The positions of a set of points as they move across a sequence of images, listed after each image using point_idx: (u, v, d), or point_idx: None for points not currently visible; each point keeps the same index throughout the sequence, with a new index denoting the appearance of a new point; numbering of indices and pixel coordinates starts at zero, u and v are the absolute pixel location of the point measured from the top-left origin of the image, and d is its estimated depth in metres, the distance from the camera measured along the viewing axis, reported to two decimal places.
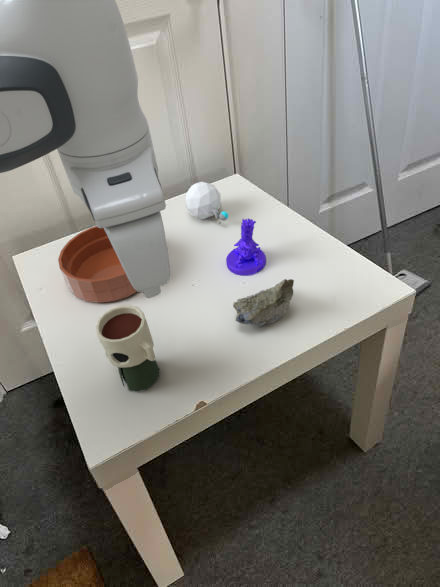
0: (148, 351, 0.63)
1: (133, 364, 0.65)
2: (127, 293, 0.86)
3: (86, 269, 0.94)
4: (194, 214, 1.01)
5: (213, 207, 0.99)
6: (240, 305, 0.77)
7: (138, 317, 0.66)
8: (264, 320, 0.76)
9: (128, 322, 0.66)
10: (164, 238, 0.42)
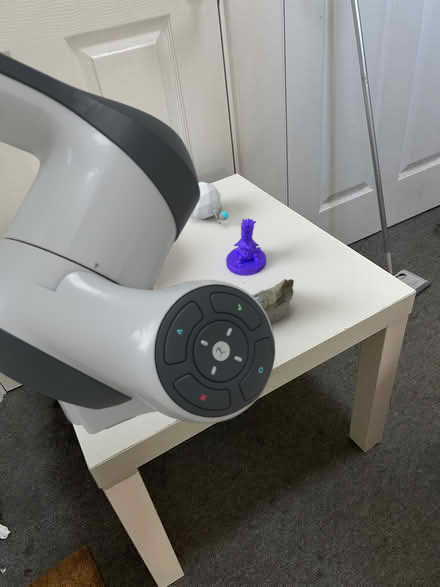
0: None
1: None
2: None
3: None
4: (194, 214, 1.01)
5: (213, 207, 0.99)
6: None
7: None
8: None
9: None
10: (74, 423, 0.39)
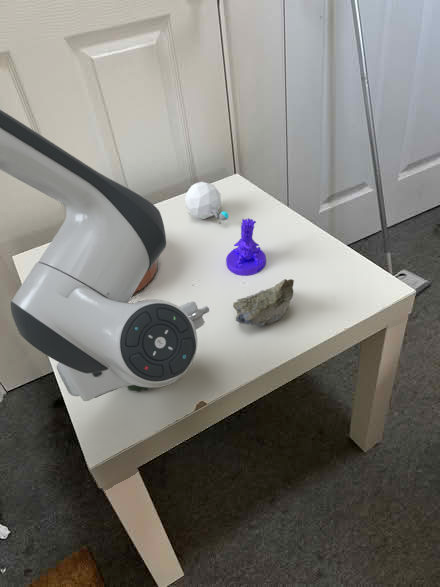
0: None
1: None
2: None
3: None
4: (194, 214, 1.01)
5: (213, 207, 0.99)
6: (240, 305, 0.77)
7: None
8: (264, 320, 0.76)
9: None
10: (73, 395, 0.56)
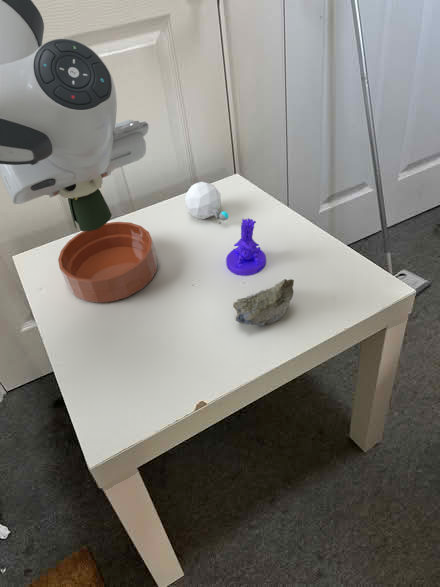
0: None
1: (81, 192, 0.68)
2: (127, 293, 0.86)
3: (86, 269, 0.94)
4: (194, 214, 1.01)
5: (213, 207, 0.99)
6: (240, 305, 0.77)
7: None
8: (264, 320, 0.76)
9: None
10: (15, 195, 0.59)
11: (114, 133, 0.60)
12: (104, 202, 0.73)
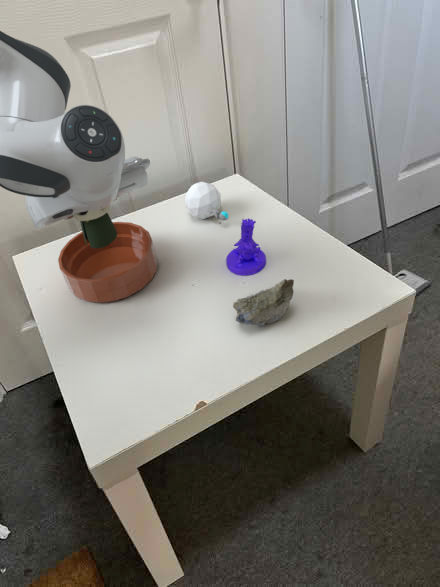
0: None
1: (92, 216, 0.80)
2: (127, 293, 0.86)
3: (86, 269, 0.94)
4: (194, 214, 1.01)
5: (213, 207, 0.99)
6: (240, 305, 0.77)
7: None
8: (264, 320, 0.76)
9: None
10: (38, 222, 0.70)
11: None
12: (111, 223, 0.85)
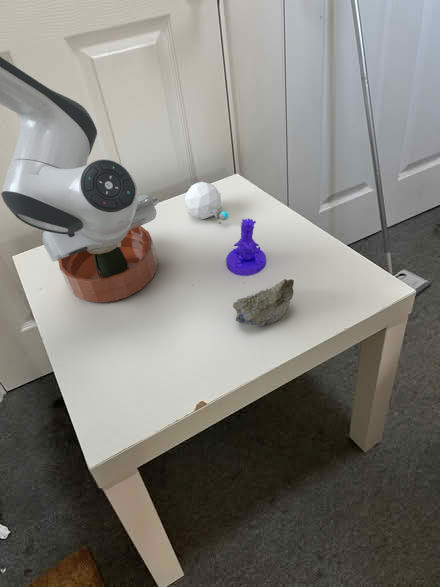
0: None
1: (104, 250, 0.85)
2: (127, 293, 0.86)
3: (86, 269, 0.94)
4: (194, 214, 1.01)
5: (213, 207, 0.99)
6: (240, 305, 0.77)
7: None
8: (264, 320, 0.76)
9: None
10: (55, 257, 0.75)
11: None
12: (122, 254, 0.90)
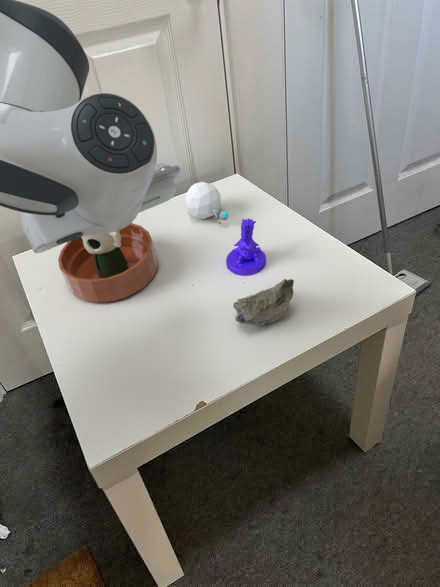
0: (115, 237, 0.83)
1: (104, 250, 0.85)
2: (127, 293, 0.86)
3: (86, 269, 0.94)
4: (194, 214, 1.01)
5: (213, 207, 0.99)
6: (240, 305, 0.77)
7: None
8: (264, 320, 0.76)
9: None
10: (37, 247, 0.54)
11: None
12: (122, 255, 0.90)
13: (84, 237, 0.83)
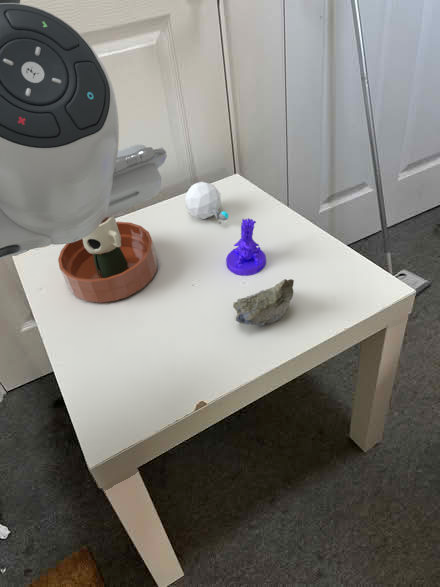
0: (115, 237, 0.83)
1: (104, 250, 0.85)
2: (127, 293, 0.86)
3: (86, 269, 0.94)
4: (194, 214, 1.01)
5: (213, 207, 0.99)
6: (240, 305, 0.77)
7: None
8: (264, 320, 0.76)
9: None
10: None
11: (114, 167, 0.38)
12: (122, 255, 0.90)
13: None
